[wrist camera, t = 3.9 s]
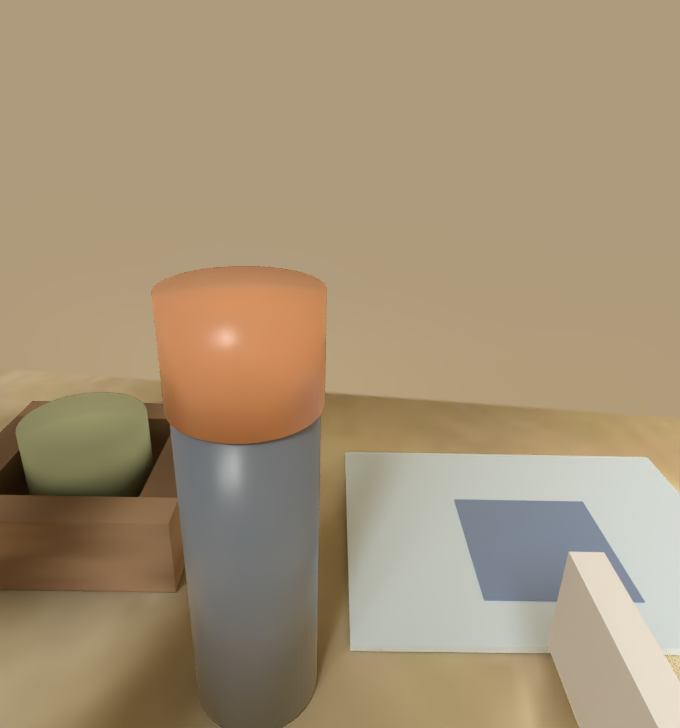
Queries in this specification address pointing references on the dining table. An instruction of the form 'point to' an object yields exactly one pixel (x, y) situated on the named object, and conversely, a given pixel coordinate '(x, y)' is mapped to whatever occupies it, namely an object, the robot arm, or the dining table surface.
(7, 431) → the button housing
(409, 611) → the sketch pad
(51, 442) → the button
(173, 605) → the dining table surface
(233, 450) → the marker
